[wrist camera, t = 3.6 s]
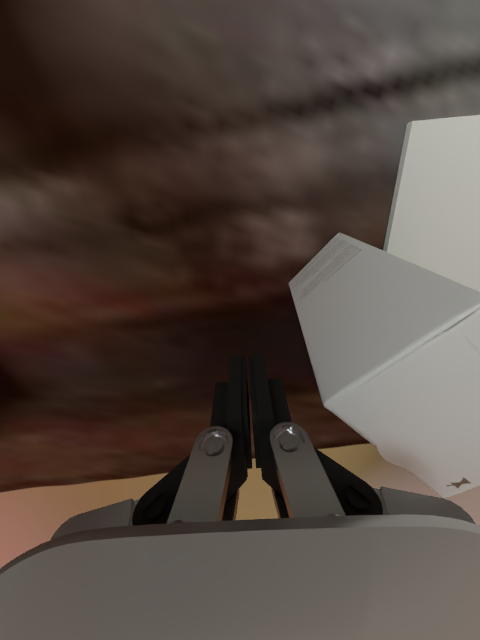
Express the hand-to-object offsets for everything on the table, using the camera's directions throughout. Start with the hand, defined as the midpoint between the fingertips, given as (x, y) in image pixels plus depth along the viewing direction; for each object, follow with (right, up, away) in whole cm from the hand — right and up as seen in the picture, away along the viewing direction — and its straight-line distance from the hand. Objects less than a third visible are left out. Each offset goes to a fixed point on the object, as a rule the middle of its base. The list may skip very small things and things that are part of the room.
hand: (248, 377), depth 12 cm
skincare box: (+9, +6, +10) cm, 15 cm away
